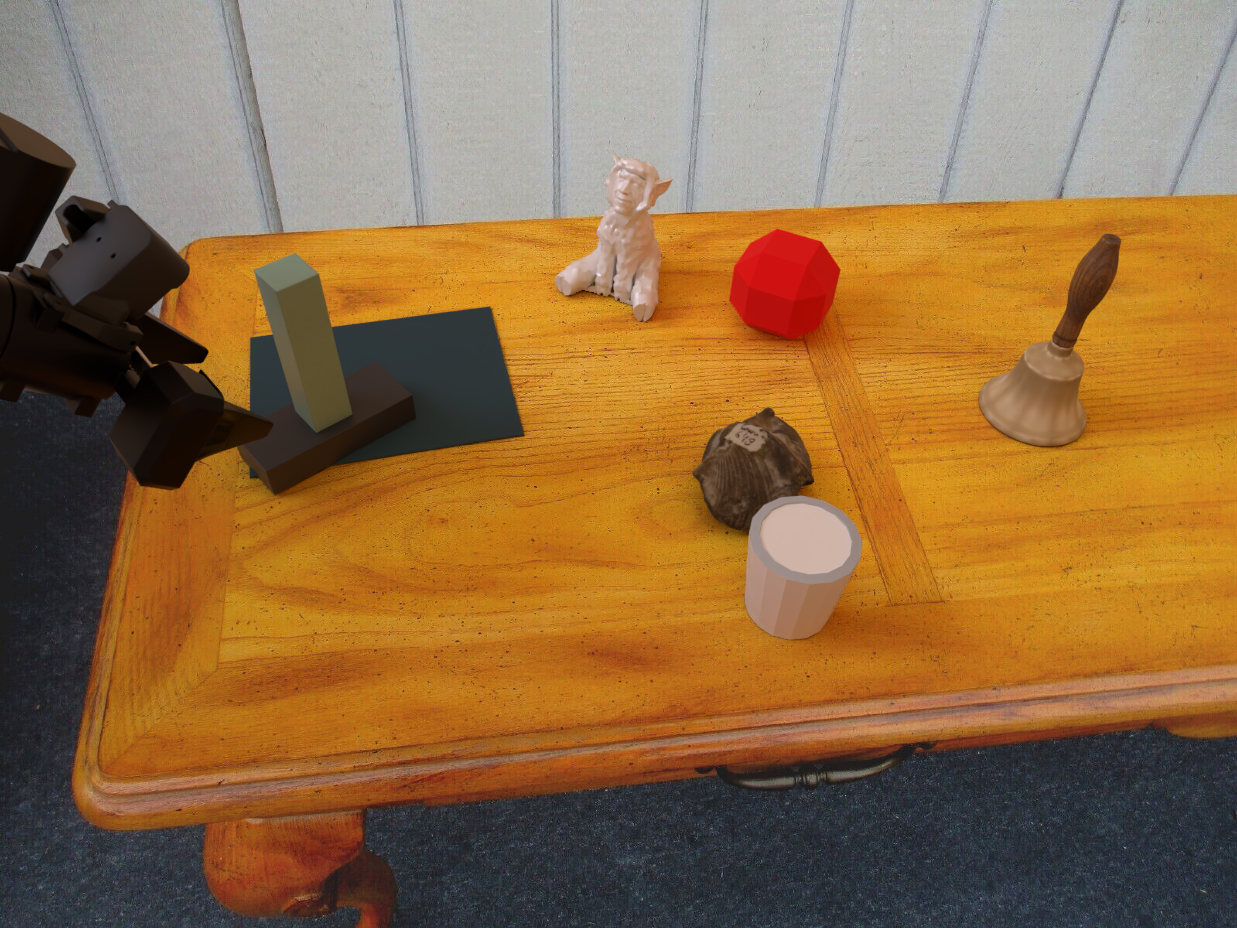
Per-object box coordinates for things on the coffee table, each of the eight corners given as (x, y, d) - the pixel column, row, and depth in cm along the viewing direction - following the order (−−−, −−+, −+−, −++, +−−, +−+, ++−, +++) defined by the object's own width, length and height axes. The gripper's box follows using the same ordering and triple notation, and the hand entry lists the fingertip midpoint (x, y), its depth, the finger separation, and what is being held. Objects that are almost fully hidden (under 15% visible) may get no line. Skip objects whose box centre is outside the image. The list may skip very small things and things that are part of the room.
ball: (834, 309, 84) (853, 235, 79) (806, 362, 79) (823, 287, 74) (750, 283, 86) (762, 209, 81) (717, 332, 82) (727, 258, 76)
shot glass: (719, 622, 62) (732, 556, 56) (756, 547, 66) (771, 479, 61) (821, 664, 60) (844, 600, 54) (852, 584, 64) (876, 518, 59)
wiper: (274, 495, 67) (215, 329, 56) (240, 456, 70) (177, 289, 59) (416, 418, 73) (388, 254, 62) (380, 384, 75) (347, 220, 64)
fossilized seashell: (769, 401, 72) (660, 465, 70) (801, 376, 66) (683, 446, 63) (821, 486, 72) (714, 553, 69) (859, 469, 65) (742, 543, 63)
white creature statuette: (551, 294, 84) (548, 171, 76) (595, 245, 90) (597, 125, 81) (648, 326, 82) (657, 203, 73) (687, 273, 87) (700, 153, 78)
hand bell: (956, 394, 77) (1024, 224, 65) (1029, 364, 80) (1107, 196, 68) (1032, 461, 72) (1120, 290, 61) (1107, 425, 75) (1205, 256, 64)
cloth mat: (249, 478, 69) (249, 477, 68) (250, 338, 79) (250, 337, 79) (524, 435, 72) (524, 434, 72) (490, 307, 83) (490, 306, 83)
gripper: (128, 279, 44) (373, 362, 57) (-8, 122, 53) (230, 225, 66) (21, 474, 46) (281, 511, 59) (-92, 290, 55) (155, 358, 68)
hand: (236, 391), depth 63 cm, fingers open, 9 cm apart
